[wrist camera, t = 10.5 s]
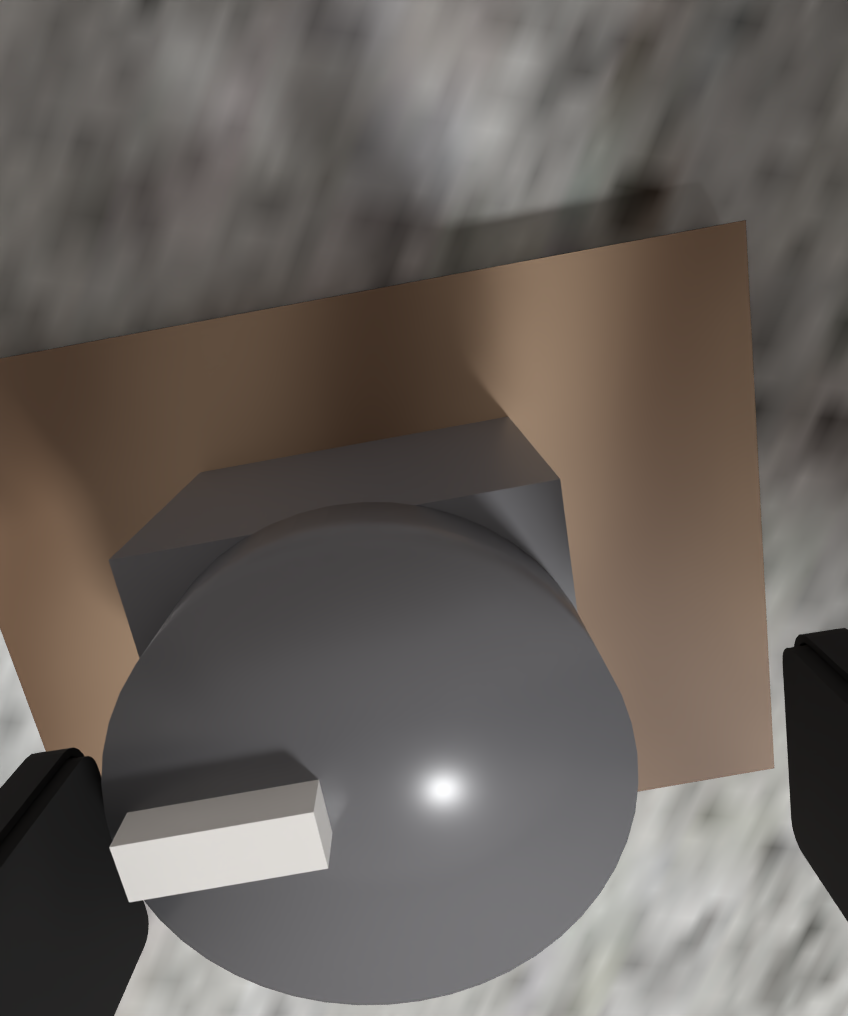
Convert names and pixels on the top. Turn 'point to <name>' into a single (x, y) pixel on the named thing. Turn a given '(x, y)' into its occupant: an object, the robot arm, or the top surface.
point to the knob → (366, 719)
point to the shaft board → (418, 408)
